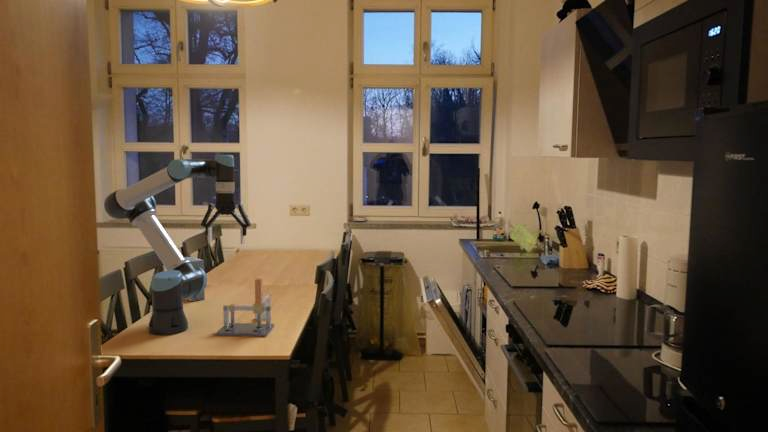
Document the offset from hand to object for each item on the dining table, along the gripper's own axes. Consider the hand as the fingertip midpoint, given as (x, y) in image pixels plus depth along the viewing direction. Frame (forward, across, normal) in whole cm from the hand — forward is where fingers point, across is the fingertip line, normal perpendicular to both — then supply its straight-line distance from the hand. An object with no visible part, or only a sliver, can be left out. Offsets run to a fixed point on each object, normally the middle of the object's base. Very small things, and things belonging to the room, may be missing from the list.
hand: (226, 243), depth 227 cm
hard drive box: (+35, -33, +43) cm, 65 cm away
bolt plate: (+35, +10, -8) cm, 37 cm away
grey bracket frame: (+34, +10, -6) cm, 35 cm away
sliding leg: (+33, +15, -6) cm, 37 cm away
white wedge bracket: (+35, +12, +11) cm, 39 cm away
